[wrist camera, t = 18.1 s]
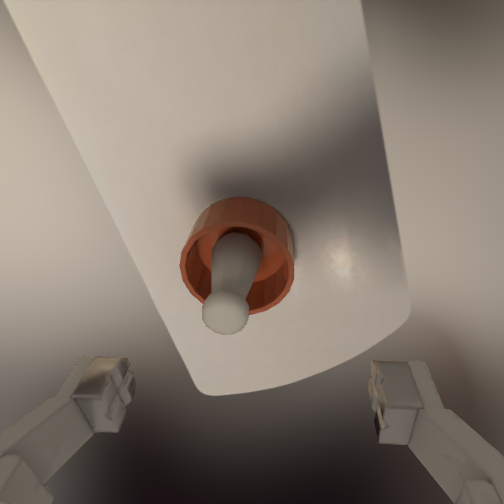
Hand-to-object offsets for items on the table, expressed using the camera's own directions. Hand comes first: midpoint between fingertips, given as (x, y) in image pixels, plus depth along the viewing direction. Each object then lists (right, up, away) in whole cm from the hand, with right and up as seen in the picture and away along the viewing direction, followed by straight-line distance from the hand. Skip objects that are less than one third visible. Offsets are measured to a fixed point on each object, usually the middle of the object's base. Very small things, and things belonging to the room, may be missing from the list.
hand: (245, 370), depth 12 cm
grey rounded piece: (-1, +5, +30) cm, 31 cm away
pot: (-1, +5, +31) cm, 31 cm away
